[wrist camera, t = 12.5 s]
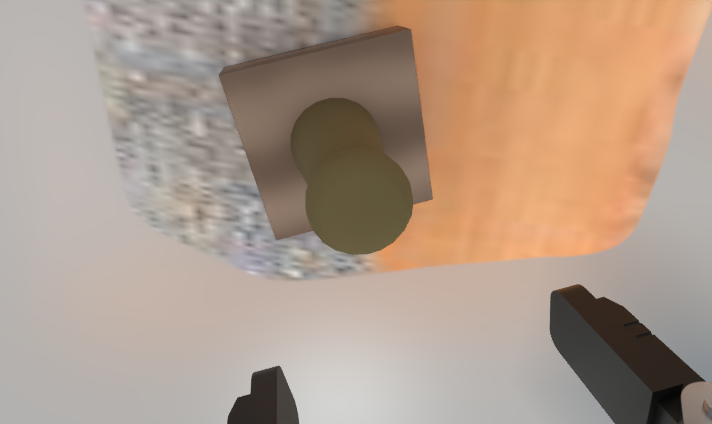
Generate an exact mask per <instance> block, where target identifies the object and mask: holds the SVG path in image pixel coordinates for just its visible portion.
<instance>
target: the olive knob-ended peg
mask: <svg viewBox="0 0 712 424" xmlns="http://www.w3.org/2000/svg"><path fill="white" fill-rule="evenodd" d="M291 151H292V154H293V157H294V160H295V163H296V165H297V166H298V168H299V170H300V172H301V174H302V176H303V178H304V180H305V181H306V183H307V185H308V187H307V189H306V193H305V209H306V215H307V218H308V220H309V223H310V226H311V228H312V229H313V231H314V232H315V233H316V234H317V236H318V237H319V238H320V239H321V240H322V242H323V243H325V244H326V245H328V246H330V247H331V248H333V249H334V250H336V251H340V252H344V253H348V254H353V255H355V254H369V253H373V252H376V251H379V250H382V249H383V248H385V247H387V246H388V245H390V244H391V243H393V242H394V241H395V240H396V239H397V238H398V237H399V235H400V234H401V233H402V232H403V231H404V230H405V228H406V226H407V224H408V222H409V220H410V218H411V215H412V208H413V195H412V190H411V185H410V181H409V179H408V178H407V176H406V175H405V173H404V171H403V170H402V168H401V167H400V166H399V164H398V163H396V162H395V161H394V160H392V159H391V158H390V157H389V156H387V155H386V154H385V153H384V149H383V146H382V142H381V138H380V135H379V131H378V127H377V124H376V122H375V120H374V119H373V117H372V116H371V114H370V112H369V111H367V110H366V109H365V108H364V107H362V106H361V105H360V104H359V103H357V102H354V101H351V100H348V99H346V98H328V99H324V100H321V101H318V102H315V103H314V104H312V105H311V106H309V107H308V108H307V109H305V110H304V111H303V112H302V114H301V115H300V116H299V118H298V119H297V120H296V122H295V124H294V127H293V130H292V133H291Z"/></svg>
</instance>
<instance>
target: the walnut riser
mask: <svg viewBox="0 0 712 424" xmlns="http://www.w3.org/2000/svg"><path fill="white" fill-rule="evenodd" d="M219 77H220V80H221V83H222V86H223V89H224V92H225V94H226V97H227V100H228V103H229V106H230V109H231V112H232V115H233V117H234V120H235V123H236V126H237V129H238V132H239V135H240V138H241V140H242V143H243V146H244V149H245V152H246V155H247V158H248V160H249V163H250V166H251V169H252V172H253V175H254V178H255V181H256V183H257V186H258V189H259V192H260V195H261V198H262V201H263V204H264V206H265V209H266V212H267V215H268V218H269V221H270V224H271V227H272V229H273V232H274V235H275V238H276V240H279V239H283V238H287V237H290V236H294V235H298V234H302V233H306V232H310V231H313V229H312V228H311V226H310V223H309V220H308V218H307V215H306V209H305V193H306V189H307V187H308V185H307V183H306V181H305V180H304V178H303V176H302V174H301V172H300V170H299V168H298V166H297V165H296V163H295V160H294V157H293V154H292V151H291V133H292V130H293V127H294V124H295V122H296V120H297V119H298V118H299V116H300V115H301V114H302V112H303V111H304V110H305V109H307V108H308V107H309V106H311V105H312V104H314V103H315V102H318V101H321V100H324V99H328V98H346V99H348V100H351V101H354V102H357V103H359V104H360V105H361V106H362V107H364V108H365V109H366V110H367V111H369V112H370V114H371V116H372V117H373V119H374V120H375V122H376V124H377V127H378V131H379V135H380V138H381V142H382V146H383V149H384V153H385V154H386V155H387V156H389V157H390V158H391V159H392V160H394V161H395V162H396V163H398V164H399V166H400V167H401V168H402V170H403V171H404V173H405V175H406V176H407V178H408V179H409V181H410V185H411V190H412V195H413V204H416V203H420V202H424V201H428V200H432V199H433V197H432V189H431V181H430V174H429V166H428V158H427V150H426V143H425V135H424V127H423V120H422V112H421V104H420V96H419V89H418V81H417V73H416V66H415V58H414V50H413V43H412V35H411V29H408V28H405V27H401V26H396V27H391V28H387V29H383V30H379V31H375V32H370V33H366V34H362V35H358V36H354V37H350V38H345V39H341V40H337V41H333V42H329V43H325V44H320V45H316V46H312V47H308V48H304V49H299V50H295V51H291V52H287V53H283V54H279V55H274V56H270V57H266V58H262V59H258V60H254V61H249V62H245V63H241V64H237V65H233V66H228V67H224V68H223V70H222V71H221V73H220V74H219Z"/></svg>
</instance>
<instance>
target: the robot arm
mask: <svg viewBox="0 0 712 424" xmlns="http://www.w3.org/2000/svg"><path fill="white" fill-rule="evenodd" d="M550 334H551V337H552V340H553V342H554V344H555V346H556V348H557V350H558V351H559V352H560V354H561V355H562V356H563V358H564V359H565V360H566V361H567V363H568V364H569V365H570V366H571V368H572V369H573V370H574V372H575V373H576V374H577V375H578V376H579V378H580V379H581V381H582V382H583V383H584V384H585V385H586V387H587V388H588V389H589V391H590V392H591V393H592V395H593V396H594V397H595V399H596V400H597V401H598V402H599V404H600V405H601V406H602V407H603V409H604V410H605V411H606V413H607V414H608V415H609V416H610V418H611V419H612V420H613V422H614V423H615V424H712V382H706V381H705V380H704V379H702V378H701V377H700V376H699V375H698V374H697V373H696V372H694V371H693V370H692V369H691V368H690V367H689V366H688V365H687V364H686V363H685V362H683V361H682V360H681V359H680V358H679V357H678V356H677V355H676V354H675V353H674V352H673V351H672V350H670V349H669V348H668V347H667V346H666V345H665V344H664V343H663V342H662V341H661V340H659V339H658V338H657V337H656V336H655V335H652V334H651V331H649V329H647V328H646V327H645V326H644V325H643V324H642V323H639V321H638V320H637V319H636V318H635V317H634V316H633V315H632V314H631V313H630V312H629V311H628V310H627V309H626V308H624V307H623V306H621V305H619V304H617V303H615V302H613V301H611V300H609V299H607V298H605V297H602V298H598V299H596V298H595V297H594V296H593V295H592V294H591V293H589V291H588V290H587V289H585V288H584V287H583V286H582V285H579V284H577V285H573V286H570V287H566V288H562V289H559V290H555V291H553V292H552V293H551V301H550ZM227 424H299V418H298V412H297V408H296V404H295V400H294V398H293V395H292V393H291V391H290V389H289V386H288V383H287V381H286V379H285V376H284V374H283V371H282V369H281V367H280V366H276V367H272V368H269V369H265V370H261V371H258V372H254V373H253V374H252V379H251V394H249V395H245V396H242V397H238V398H237V400H236V402H235V404H234V406H233V408H232V410H231V412H230V414H229V416H228V421H227Z"/></svg>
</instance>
